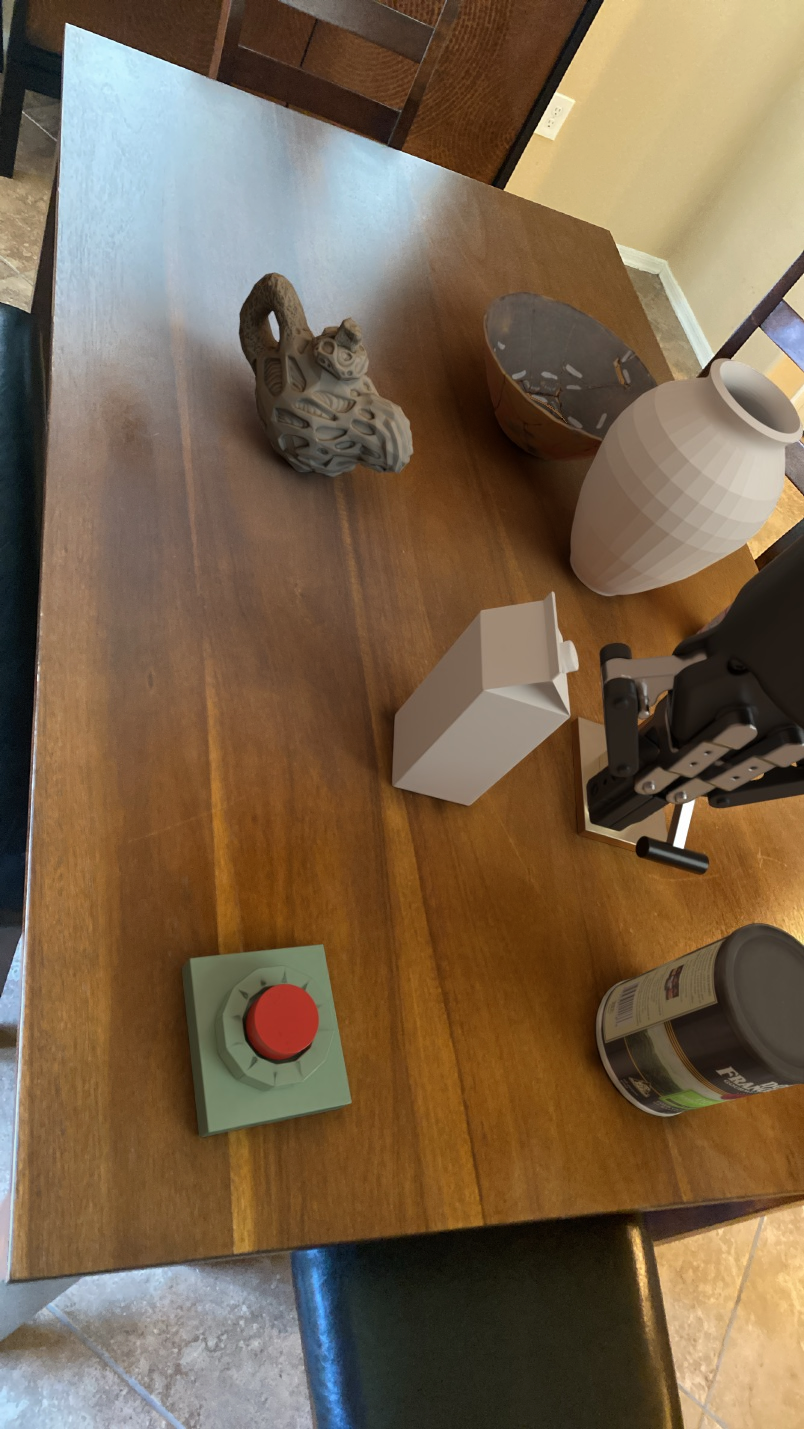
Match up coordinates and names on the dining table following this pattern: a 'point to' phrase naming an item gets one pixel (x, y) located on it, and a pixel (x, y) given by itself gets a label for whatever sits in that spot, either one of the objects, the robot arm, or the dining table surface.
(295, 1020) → the button
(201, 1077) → the button block
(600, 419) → the bowl
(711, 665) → the robot arm
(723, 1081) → the coffee can
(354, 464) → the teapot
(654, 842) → the lever handle
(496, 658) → the milk carton
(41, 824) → the dining table surface
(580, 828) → the lever bracket
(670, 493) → the vase
